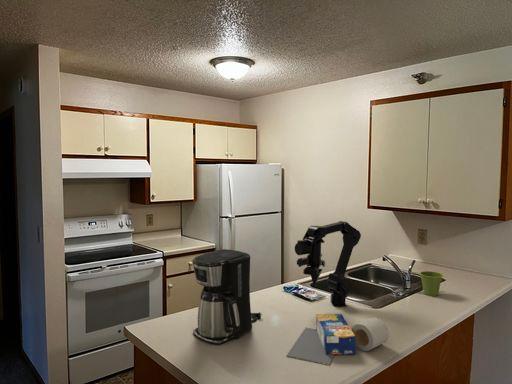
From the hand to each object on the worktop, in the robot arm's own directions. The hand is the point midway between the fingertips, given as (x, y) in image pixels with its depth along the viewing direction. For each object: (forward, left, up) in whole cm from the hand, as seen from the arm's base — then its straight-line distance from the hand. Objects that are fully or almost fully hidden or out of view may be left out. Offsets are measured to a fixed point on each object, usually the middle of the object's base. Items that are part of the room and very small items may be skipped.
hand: (314, 284), depth 182 cm
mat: (+6, +34, -13) cm, 37 cm away
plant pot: (-68, -20, -13) cm, 72 cm away
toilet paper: (-14, +36, -13) cm, 41 cm away
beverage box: (-2, +20, -10) cm, 23 cm away
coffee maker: (+39, +20, -13) cm, 46 cm away
